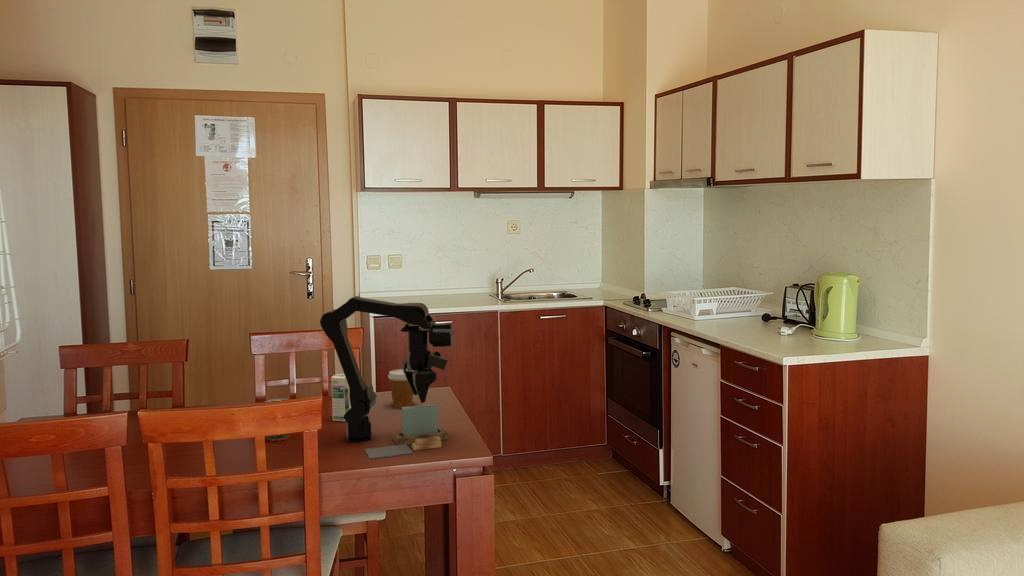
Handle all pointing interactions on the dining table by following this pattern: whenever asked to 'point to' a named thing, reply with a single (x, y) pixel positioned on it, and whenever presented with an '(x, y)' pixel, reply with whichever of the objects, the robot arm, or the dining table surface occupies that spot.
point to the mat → (388, 451)
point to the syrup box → (340, 397)
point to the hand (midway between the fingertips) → (419, 398)
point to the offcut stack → (427, 443)
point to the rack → (418, 436)
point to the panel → (419, 420)
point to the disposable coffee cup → (400, 389)
